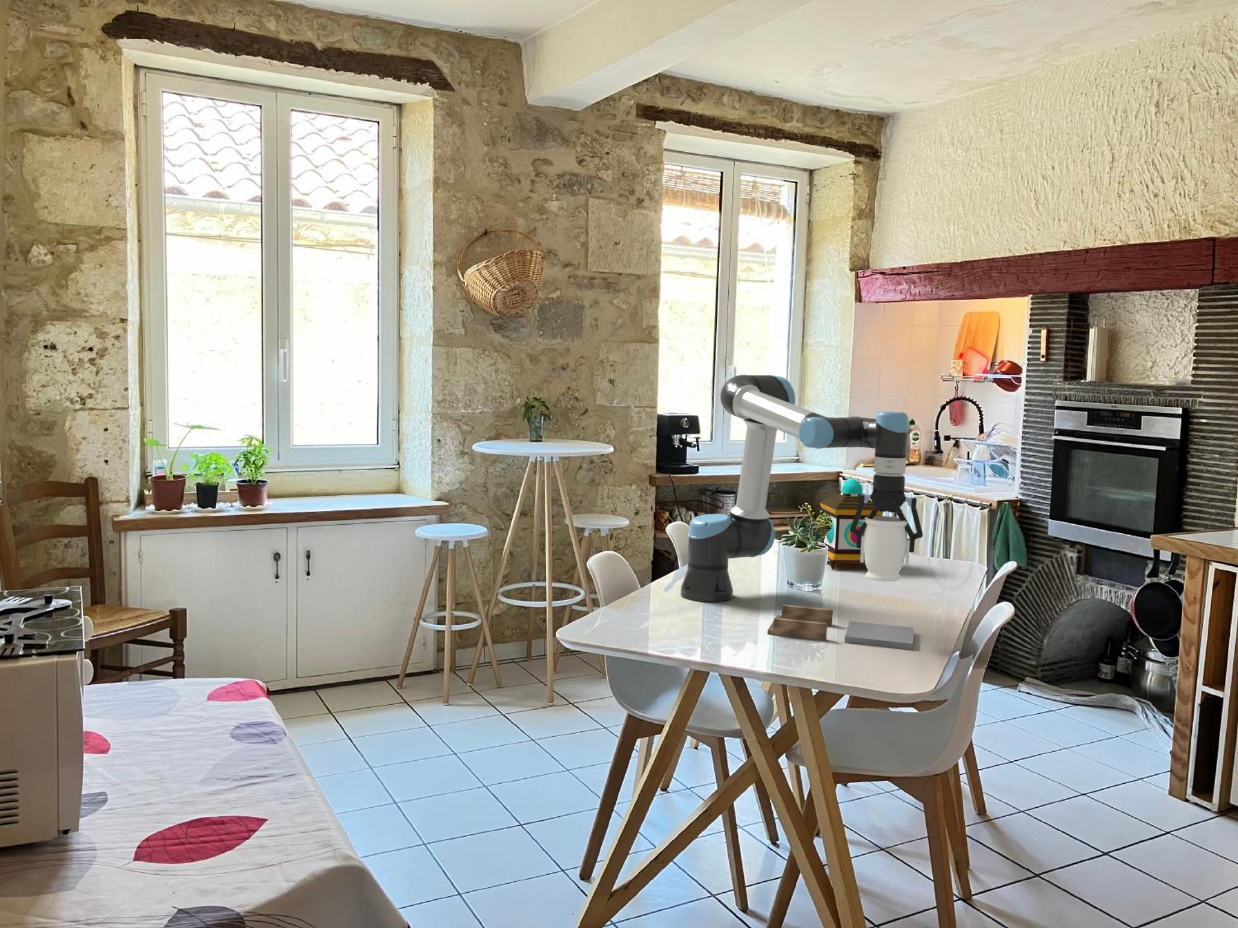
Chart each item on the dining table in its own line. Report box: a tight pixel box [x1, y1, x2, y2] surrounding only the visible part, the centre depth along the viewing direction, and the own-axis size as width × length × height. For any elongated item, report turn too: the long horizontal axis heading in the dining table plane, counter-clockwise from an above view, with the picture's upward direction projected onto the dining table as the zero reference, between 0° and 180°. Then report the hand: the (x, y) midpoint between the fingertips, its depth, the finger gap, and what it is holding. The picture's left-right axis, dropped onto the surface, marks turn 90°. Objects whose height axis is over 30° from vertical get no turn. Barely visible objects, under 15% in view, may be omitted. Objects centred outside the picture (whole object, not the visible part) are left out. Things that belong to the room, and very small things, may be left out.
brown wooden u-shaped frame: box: [766, 604, 834, 641], centre depth 253 cm, size 14×16×4 cm
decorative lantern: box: [819, 478, 884, 571], centre depth 337 cm, size 20×20×30 cm
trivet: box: [844, 620, 915, 650], centre depth 247 cm, size 16×16×2 cm
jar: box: [863, 515, 909, 582], centre depth 245 cm, size 11×10×15 cm
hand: (884, 563), depth 245 cm, fingers closed on jar, 10 cm apart
